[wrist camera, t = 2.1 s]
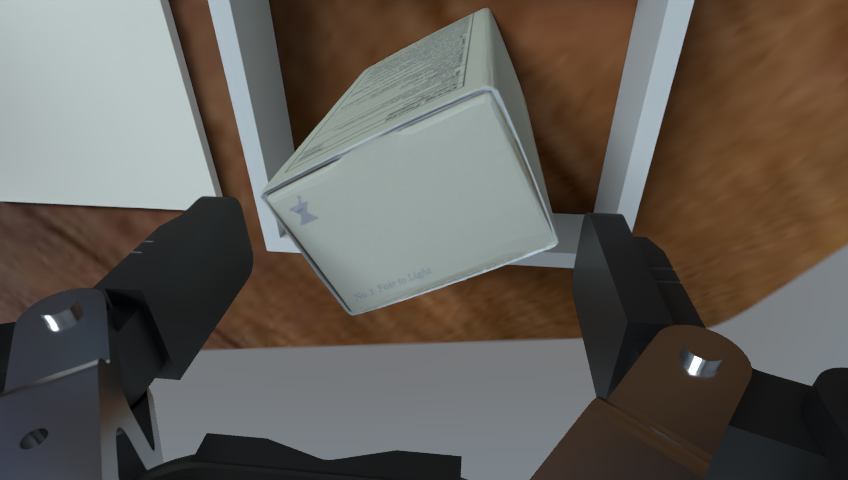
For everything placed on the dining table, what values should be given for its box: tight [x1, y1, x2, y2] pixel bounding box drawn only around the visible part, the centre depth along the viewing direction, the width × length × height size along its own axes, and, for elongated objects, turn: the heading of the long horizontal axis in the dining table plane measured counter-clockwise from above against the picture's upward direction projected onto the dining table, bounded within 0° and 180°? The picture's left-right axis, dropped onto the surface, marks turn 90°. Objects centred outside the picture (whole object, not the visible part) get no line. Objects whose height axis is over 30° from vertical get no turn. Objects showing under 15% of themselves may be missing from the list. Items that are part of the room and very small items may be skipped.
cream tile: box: [0, 0, 223, 210], centre depth 23 cm, size 14×14×1 cm
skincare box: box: [259, 8, 559, 315], centre depth 16 cm, size 6×4×12 cm
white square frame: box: [208, 0, 694, 268], centre depth 20 cm, size 15×17×4 cm
